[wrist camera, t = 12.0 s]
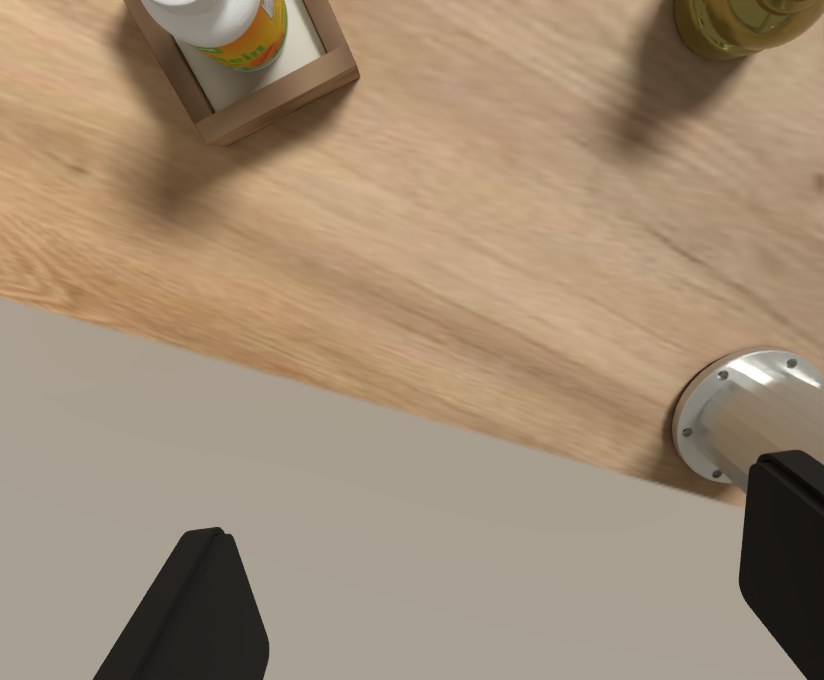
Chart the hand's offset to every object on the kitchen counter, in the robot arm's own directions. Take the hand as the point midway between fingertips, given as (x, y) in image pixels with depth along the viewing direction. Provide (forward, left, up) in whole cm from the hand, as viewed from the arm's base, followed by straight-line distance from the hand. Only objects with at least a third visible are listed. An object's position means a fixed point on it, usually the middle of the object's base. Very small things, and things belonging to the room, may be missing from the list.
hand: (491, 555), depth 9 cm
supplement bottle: (+7, -16, -25) cm, 31 cm away
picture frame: (+8, -16, -28) cm, 33 cm away
